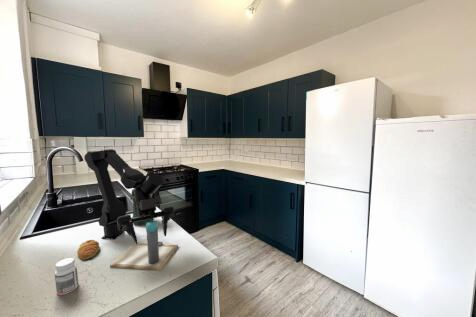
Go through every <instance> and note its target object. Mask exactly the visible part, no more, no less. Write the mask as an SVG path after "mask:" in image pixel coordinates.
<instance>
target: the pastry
mask: <svg viewBox="0 0 476 317" xmlns="http://www.w3.org/2000/svg"><path fill="white" fill-rule="evenodd" d="M99 249H100V244H99V242H98V241H96V240H94V239H87V240H86V241H84V242H82V243H81V244H80V245H79V248H78V249H77V251H76V253H77V255H78V257H79V259H81V260H83V261H86V260H88V259H90V258H94V257H95V256H96V254H98V252H99Z"/></svg>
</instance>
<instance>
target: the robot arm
mask: <svg viewBox="0 0 476 317" xmlns="http://www.w3.org/2000/svg"><path fill="white" fill-rule="evenodd" d="M83 158H84V162H86V164H87V167H88V168H89V169H90V170H91V171H93V172H94V175H95V178H96V181H97V184H98V188H99V192H100V194H101V197H102V198H101V199H102V201H103V204H102V205H103V206H102V208H101V216H100V218H99V219H98V221H97V222H98V225H99V226H101V227H103V236H102V237H101V239H102V240H116V239H118V238H119V237H121V236H122V235H123V234H125V232H126V233H127V234H128V236H130V238H131V239H132V241H133V242H134V244H136V245H137V244H138V243H139V242H138V238H137V234H136V231H135V226H134V224H133V223H135V222H140V221H144V220H149V219H153V218H154V219H157V218H161V223H162V224H161V226H162V230H163V231H162V232H163V235H164V237H166V236H167V233H168V232H167V230H168V223H169V221H171V219H172V218H173V217H174V215H175V213H176V210H175V207H174V206H173V205H169V206H164V207H162V209H161V211H157V206H160V205H162V198H161V195H154V197H152V196H153V194H154V193H156V192H157V190H158V189H159V188H160V187H162V185H163V183H164V179H163V177H162V176H161V175H159V174H158V173H155V172H154V171H152V170H151V171H148V172H147V173H146V174H145V175H144V173H143V172H141V171H140V170H138V169H136V168H133V167H132V166H130V165H129V164H128V163H127V162H126V161H125V160H124V159H123V158H122V157H121V156H120V155H119V154H118V152H117V151H116V149H113V148H107V149H106V148H105V149H102V150H94V151H90V150H89V151H87V152H86V154H85V155H84V157H83ZM109 166H110V167H111V168H112V169H113V170H114V171H115V172H116V173H117V174H118V175H119V176H120V182H121V184H122V186H123V187H124V188H125V189H126V190H130V189H131V190H132V189H135V190H134V193H133V194H132V196H133V197H135V201H136V207H137V212H138V216H137V217H133V216H132V215H131V214H129V213H128V214H127V208H126V207H125V203H124V201H123V200H121V201H120V200H119V199H118V198H117V196H116V192H115V188H114V185H113V182H112V179H111V175H110V171H109V169H108V168H109ZM151 194H152V196H151ZM131 216H132V217H131ZM154 219H153V220H154Z"/></svg>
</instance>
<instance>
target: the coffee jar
mask: <svg viewBox="0 0 476 317" xmlns="http://www.w3.org/2000/svg"><path fill="white" fill-rule="evenodd" d="M135 189H136V188H131V194H130V195H131V199H132V203H133V204H132V217H137V216H138V212H137V207H136V201H135V197H133V196H132V194H133V193H134V190H135ZM151 196H153V194H151ZM154 219H155V218H153V219H149V220H144V221H140V222H135V223H133V225H135V226H143V225H146V223H147V222H150V221H154Z"/></svg>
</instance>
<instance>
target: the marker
mask: <svg viewBox="0 0 476 317" xmlns="http://www.w3.org/2000/svg"><path fill="white" fill-rule="evenodd" d="M158 223H159V222H158V220H152V221H150V222H147V223H146V224H145V229H146V240H147V241H146V243H147V245H148V263H149V264H155V263H157V262H158V261H159V247H158V242H159V233H158V232H159V230H158V229H159V225H158Z"/></svg>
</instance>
